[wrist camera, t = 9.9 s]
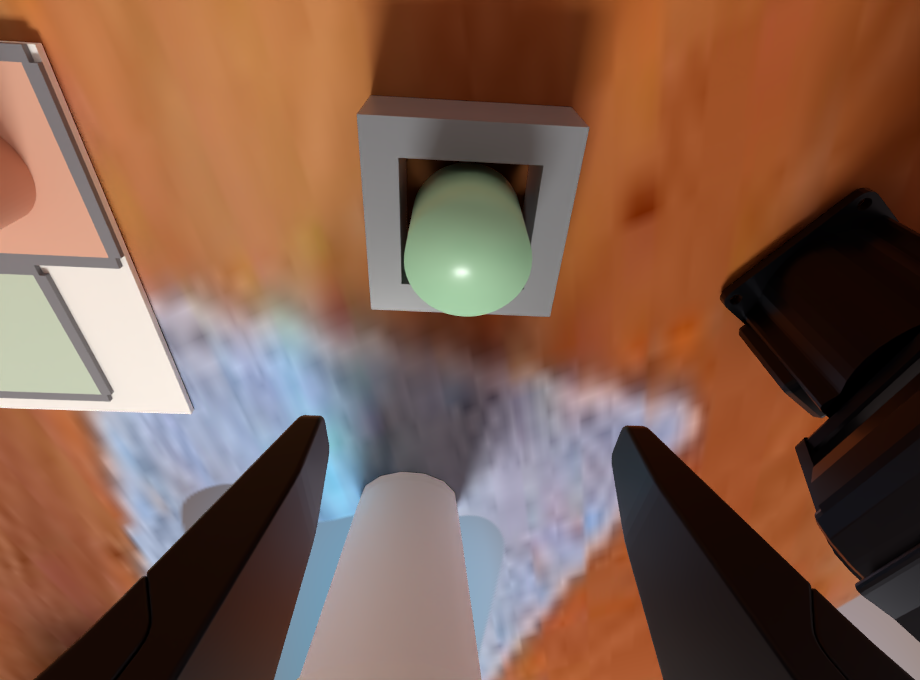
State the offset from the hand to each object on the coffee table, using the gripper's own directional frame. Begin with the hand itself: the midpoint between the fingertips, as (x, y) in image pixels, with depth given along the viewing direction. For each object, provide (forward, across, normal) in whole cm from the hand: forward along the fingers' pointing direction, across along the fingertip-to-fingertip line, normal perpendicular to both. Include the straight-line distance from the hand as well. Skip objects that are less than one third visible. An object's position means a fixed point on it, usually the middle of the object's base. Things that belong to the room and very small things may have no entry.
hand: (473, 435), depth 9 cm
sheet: (+12, +20, +4) cm, 24 cm away
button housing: (+12, 0, 0) cm, 12 cm away
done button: (+10, 0, 0) cm, 10 cm away
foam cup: (+12, +2, +21) cm, 24 cm away
